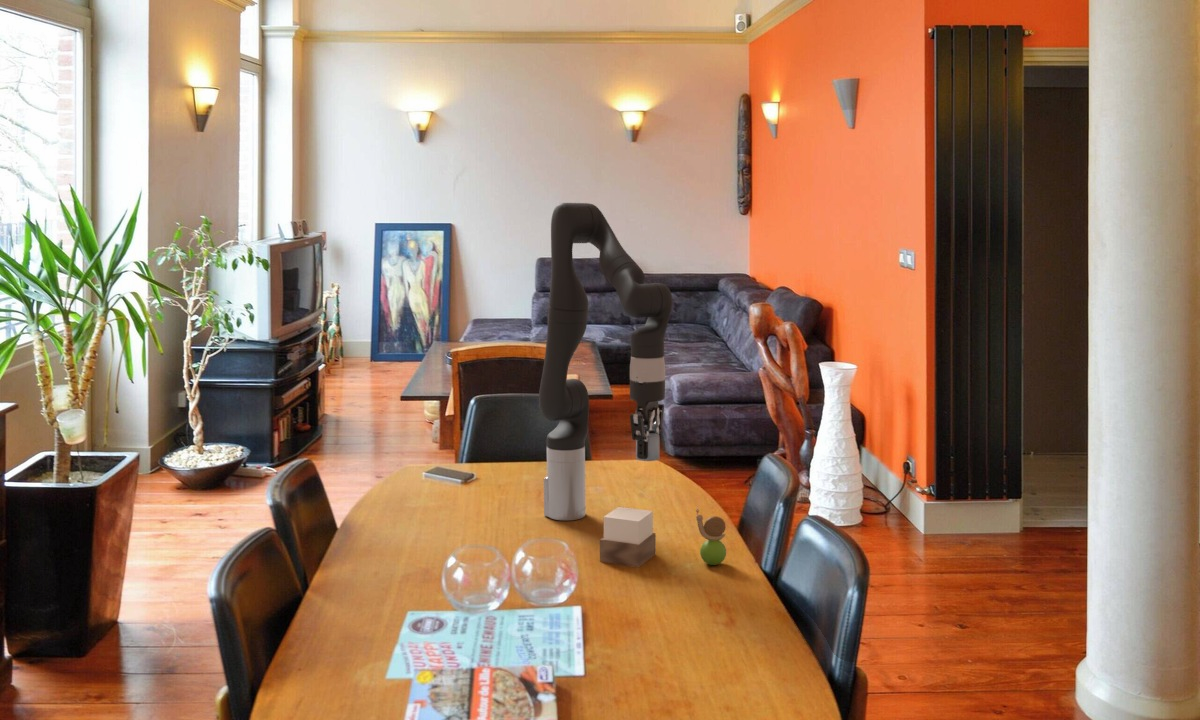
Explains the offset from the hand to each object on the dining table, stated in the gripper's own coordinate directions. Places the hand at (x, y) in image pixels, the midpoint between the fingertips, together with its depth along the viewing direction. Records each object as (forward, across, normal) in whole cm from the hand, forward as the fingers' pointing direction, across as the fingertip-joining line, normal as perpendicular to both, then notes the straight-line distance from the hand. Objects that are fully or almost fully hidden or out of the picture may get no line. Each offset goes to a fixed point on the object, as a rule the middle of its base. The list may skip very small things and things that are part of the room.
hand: (647, 455), depth 229 cm
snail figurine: (+22, +2, +15) cm, 27 cm away
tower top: (+17, +6, -2) cm, 18 cm away
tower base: (+22, +6, -2) cm, 22 cm away
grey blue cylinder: (+1, 0, 0) cm, 1 cm away
